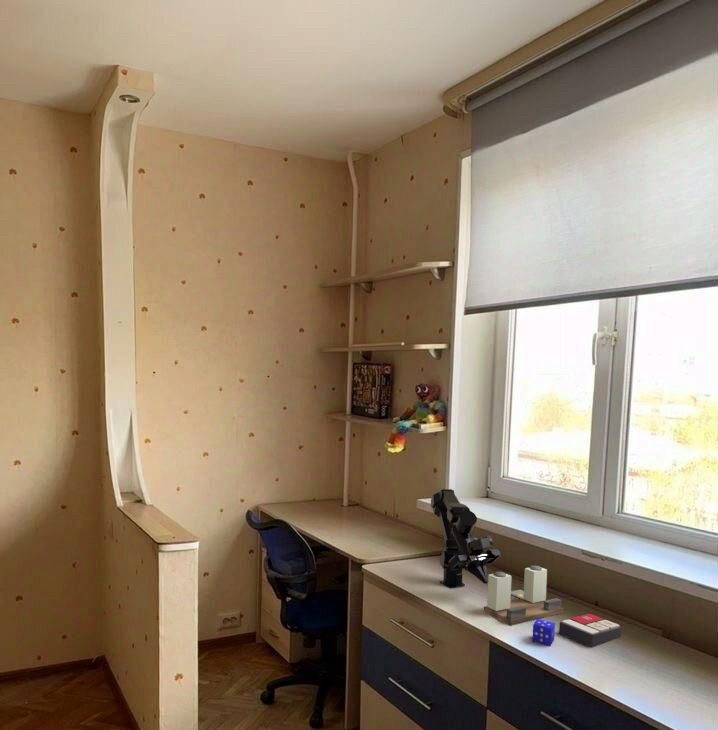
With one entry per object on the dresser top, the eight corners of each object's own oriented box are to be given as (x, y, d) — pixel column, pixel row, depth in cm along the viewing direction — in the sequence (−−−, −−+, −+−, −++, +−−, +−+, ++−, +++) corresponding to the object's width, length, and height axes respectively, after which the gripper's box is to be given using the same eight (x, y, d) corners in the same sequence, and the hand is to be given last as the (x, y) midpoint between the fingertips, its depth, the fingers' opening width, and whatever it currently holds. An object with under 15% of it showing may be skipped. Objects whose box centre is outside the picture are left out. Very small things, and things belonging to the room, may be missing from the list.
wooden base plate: (483, 611, 199) (483, 598, 199) (534, 600, 211) (535, 588, 211) (511, 625, 189) (511, 612, 189) (563, 613, 201) (564, 600, 201)
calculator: (622, 624, 185) (592, 632, 176) (621, 639, 185) (591, 648, 176) (589, 612, 194) (559, 619, 185) (588, 626, 194) (558, 634, 185)
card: (507, 593, 217) (507, 591, 217) (520, 590, 220) (520, 589, 220) (525, 601, 210) (525, 599, 210) (537, 598, 213) (538, 596, 213)
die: (550, 646, 176) (551, 628, 176) (532, 642, 178) (533, 624, 178) (554, 640, 180) (555, 622, 180) (536, 636, 182) (537, 618, 182)
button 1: (487, 606, 199) (488, 572, 199) (501, 603, 202) (502, 570, 202) (496, 611, 195) (497, 576, 195) (510, 608, 198) (511, 574, 198)
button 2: (523, 599, 207) (524, 566, 207) (536, 596, 210) (537, 564, 210) (532, 603, 204) (534, 570, 204) (545, 600, 207) (547, 567, 207)
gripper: (455, 529, 203) (477, 574, 194) (498, 524, 213) (521, 566, 203) (439, 547, 210) (459, 591, 200) (481, 542, 220) (502, 583, 210)
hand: (486, 583), depth 203 cm, fingers closed
